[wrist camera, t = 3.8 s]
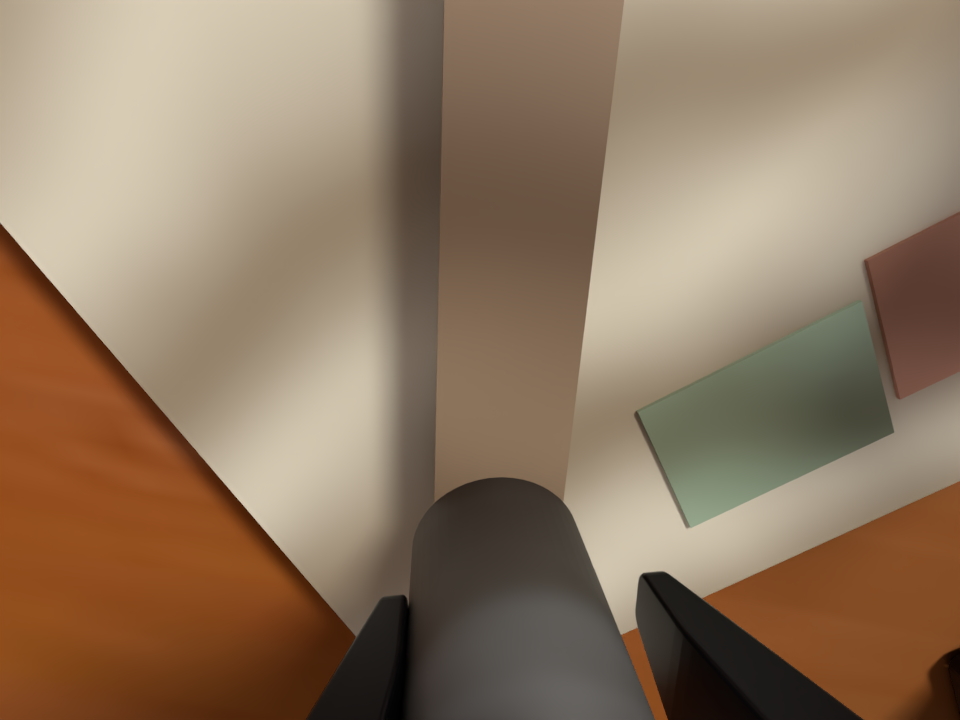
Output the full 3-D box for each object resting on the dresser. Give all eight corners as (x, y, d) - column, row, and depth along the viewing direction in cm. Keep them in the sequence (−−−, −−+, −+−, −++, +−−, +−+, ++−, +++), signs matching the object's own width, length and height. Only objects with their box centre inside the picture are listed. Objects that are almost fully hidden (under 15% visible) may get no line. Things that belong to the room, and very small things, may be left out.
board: (1005, 405, 14) (1074, 433, 12) (430, 672, 15) (429, 725, 14) (783, -1102, 6) (897, -1521, 5) (-317, -247, 8) (-499, -349, 6)
